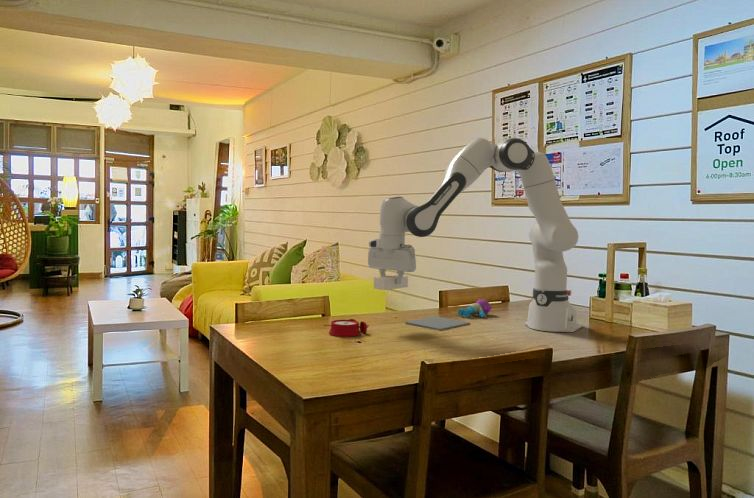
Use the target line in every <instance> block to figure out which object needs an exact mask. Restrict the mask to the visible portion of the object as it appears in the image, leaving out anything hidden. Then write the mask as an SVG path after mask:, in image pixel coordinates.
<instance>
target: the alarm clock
mask: <svg viewBox="0 0 754 498" xmlns="http://www.w3.org/2000/svg"><path fill="white" fill-rule="evenodd" d="M369 326H370V325H368V324H367V323H366V322H365V321H360V323H359V321H357V320H356V319H354V318H350V319H335V320H332V321H331V323H330V324H329V325H325V324H324V325H323V327H330V329H329V330H328V334H329V335H330V337H333V336H335V337H343V338H344V337H346V338H347V337H349V338H350V337H357V336H360V335H361V333H362V334H363V335H364V334H367V331H368V328H369Z"/></svg>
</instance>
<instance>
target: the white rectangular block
mask: <svg viewBox="0 0 754 498" xmlns="http://www.w3.org/2000/svg"><path fill="white" fill-rule="evenodd" d="M397 276H398V274H391V275H386V276H381V275H380V276H374V277H373V289H376V290H382V291H388V290H395V289H403V288H405V289H406V288H408V287H409V275H405V274H404V275H403V277H402V279H401V284H395V279H396V278H397Z"/></svg>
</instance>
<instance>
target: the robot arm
mask: <svg viewBox="0 0 754 498" xmlns="http://www.w3.org/2000/svg"><path fill="white" fill-rule="evenodd" d="M488 168H490V169H492V170H494V171H496V172H499V173H505V172H506V173H509V172H510V173H511V172H514V171H515V172H517V173H518V175H519V176H520V179H521V182H522V186H523V190H524V194H525V198H526V202H527V205H528V209H529V210H530V211H531V213H532V214H533V217H534V219H535V221H536V222H535V223H534V224H532V225H531V227H530V229H529V232H528V233H529V234H528V237H529V240H530V242H531V244H532V245H531V246H532V253H533V254H532V255H533V259H534V288H533V289H532V299H533V300H532V301H531V302H530V303H529V307H528V312H527V313H528V316H527V320H526V321H524V325H526V326H527V327H528V328H530V329H532V330H537V331H542V332H543V331H544V332H554V333H555V332H556V333H559V332H564V333H574V332H576V331H577V330H579V329H580V328H582V327H583V326H584V325H583V323H582V322H578V321H577V309H575V307H574V306H573V305H572V304H571V302H570V301H569V299H570V298H569V296H571V295H572V290H571V289H569V290H568V289H567V281H568V280H567V279H568V267H567V264H566V262H565V260H564V259H565V258H564V253H563V252H567V251H570V250H571V249H574V247H576V245H577V244H578V242H579V232H578V229H577V228H576V227H575V225H574V224H573V223H572V221H571V219H570V217H569V216H568V214H567V211H566V209H565V207H564V205H563V203H562V200H561V198H560V193H559V190H558V185H557V182H556V178H555V174H554V171H553V169H552V166H551V164H550V161H549V159H548V157H547V155H546V154H545V153H543V152H540V151H534V150H533V149H532V148H531V147H530V146H529V144H528V143H527V142H526V141H525V140H523V139H521V138H517V137H516V138H515V137H512V138H507V139H503V140H502V141H501V140H500V141H499V142H498V143H491V141H489V140H488V139H487V138H484V137H476V138H474V139H473V140H472V141H470V142H468V144H466V145H465V146H464V147H463V148H462V149H460V150H459V152H457V153H456V155H454V157H453V158H452V159H451V160H450V162H449V163H448V165H447V167H446V168H445V170H444V178H443V182H442V183H441V185H440V186H439V187H438V189H436V191H435V192H434V193H433V194H432V196H431V197H430V198H429V199H428V200H426V202H425V203H424V204H421V205H420V206H419V205H417V204H415V203H412V202H410V201H408V200H407V199H405V198H404V197H403V196H392V197H388V198H385V199H384V200H383V201H382V202H381V205H380V209H379V210H380V213H379V225H380V230H379V234H378V235H379V236H378V238H374V239H372V240H370V241H369V242H368V247H369V249H368V255H367V264H368V267H369V269H378V272H379V275H380V276H387V275H386V272H387V270H388V271H395V272H396V275H398V276H397V278H396V279H395V284H401V279H402V277H403V275H404V276H405V273H413V272H415V271H416V269H417V260H416V259H417V258H416V254H415V253H416V252H415V248H414V247H413V245H411V244H405V243H406V241H405V240H406V235H405V234H406V233H411V234H412V235H413V236H415V237H419V238H425V237H428V236H429V235H432V233H434V232H435V230H436V228H437V226H438V224H439V220H440V217H441V215H442V214H443V213H444V212H445V210H446V209H447V208H448V207H449V206H450V205H451V203H452V202H453V201H454V200H455V199H456V197H458V196H459V195H460V194H461V193H463V191H465V190H466V189H467V188H469V187H470V186H471V185H473V184H474V183H475V182H476V181H477V180H478V178H480V176H482V174H483V173H485V170H487V169H488Z"/></svg>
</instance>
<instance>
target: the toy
mask: <svg viewBox="0 0 754 498" xmlns="http://www.w3.org/2000/svg"><path fill="white" fill-rule="evenodd" d="M492 308H493V306H491V304H490V303H489V301H488V300H487V299H484V298H483V299H478V300H477V301H475V303H472V304H469V305H468V306H467V308H460V309H458V311H457V316H458V317H459V316H462V317H464V318H465V317H466V318H465V319H469V318H470V315H472V316H474V315H478V316H479V317H481V318H485V317H486V316H487V315H488V314H489V312H490V311H491V310H492Z"/></svg>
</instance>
